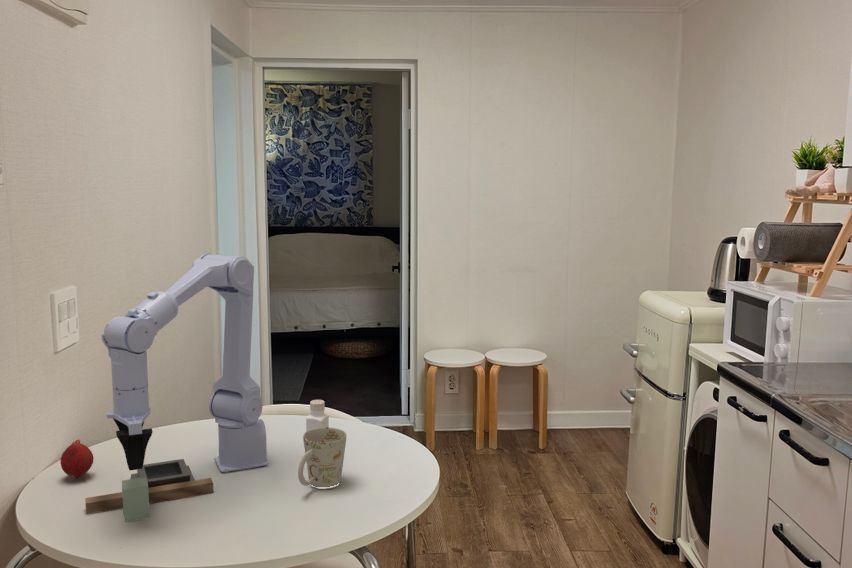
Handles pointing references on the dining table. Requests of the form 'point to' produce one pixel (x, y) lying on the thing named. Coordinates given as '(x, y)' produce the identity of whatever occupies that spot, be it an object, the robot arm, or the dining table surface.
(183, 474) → the keeper
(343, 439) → the mug
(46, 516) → the dining table surface
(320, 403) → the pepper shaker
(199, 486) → the door edge rail
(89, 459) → the onion
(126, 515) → the stop block
